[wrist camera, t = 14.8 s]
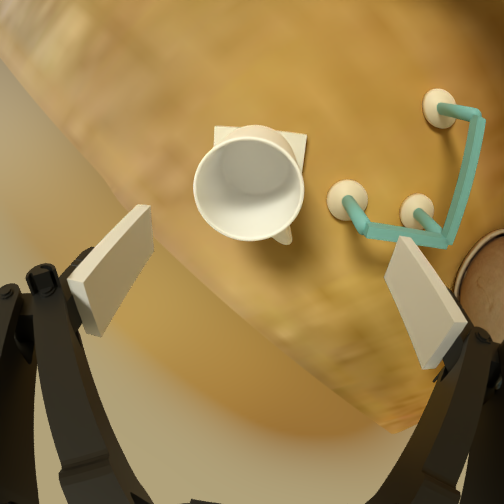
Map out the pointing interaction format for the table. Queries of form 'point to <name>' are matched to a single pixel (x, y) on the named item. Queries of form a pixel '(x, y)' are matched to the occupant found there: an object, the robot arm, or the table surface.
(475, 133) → the wire course
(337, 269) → the table surface
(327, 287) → the table surface
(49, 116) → the table surface
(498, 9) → the table surface
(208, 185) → the mug
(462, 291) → the potted plant
